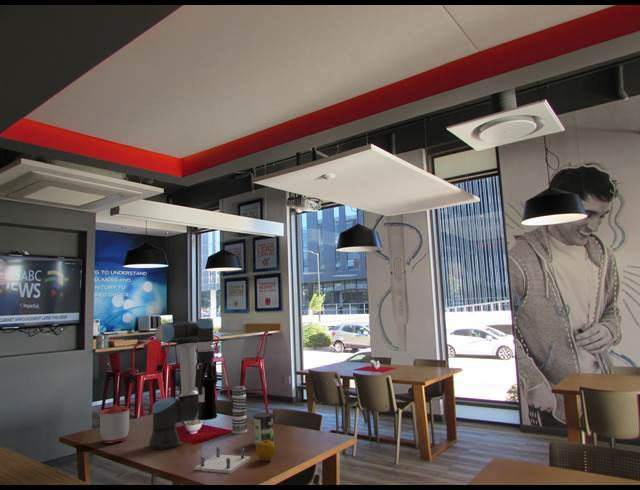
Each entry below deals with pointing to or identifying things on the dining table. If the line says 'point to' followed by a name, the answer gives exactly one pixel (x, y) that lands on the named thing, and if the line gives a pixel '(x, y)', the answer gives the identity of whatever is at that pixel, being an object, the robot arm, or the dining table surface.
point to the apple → (265, 450)
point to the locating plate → (222, 462)
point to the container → (208, 401)
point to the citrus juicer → (114, 424)
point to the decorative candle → (239, 409)
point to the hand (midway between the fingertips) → (206, 399)
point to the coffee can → (263, 427)
